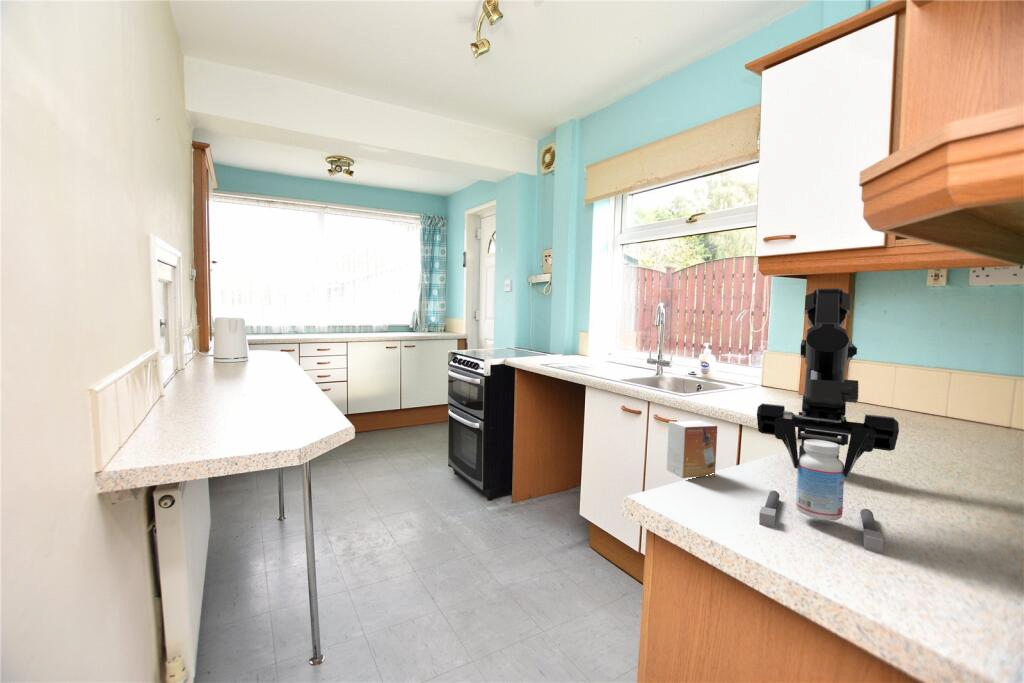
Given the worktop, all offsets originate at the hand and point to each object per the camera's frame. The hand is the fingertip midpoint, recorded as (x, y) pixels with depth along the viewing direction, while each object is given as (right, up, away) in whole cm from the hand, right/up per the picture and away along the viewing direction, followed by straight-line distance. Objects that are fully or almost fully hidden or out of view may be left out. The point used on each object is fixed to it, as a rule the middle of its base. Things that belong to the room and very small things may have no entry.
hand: (820, 471), depth 70 cm
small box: (-11, -8, +24) cm, 27 cm away
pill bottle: (+1, -7, +1) cm, 7 cm away
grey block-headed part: (+6, -9, -2) cm, 11 cm away
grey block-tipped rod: (-5, -8, +5) cm, 11 cm away
